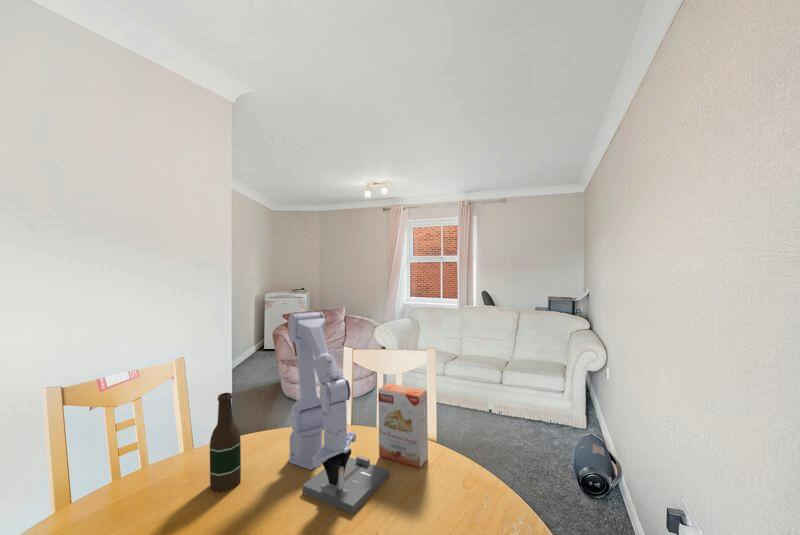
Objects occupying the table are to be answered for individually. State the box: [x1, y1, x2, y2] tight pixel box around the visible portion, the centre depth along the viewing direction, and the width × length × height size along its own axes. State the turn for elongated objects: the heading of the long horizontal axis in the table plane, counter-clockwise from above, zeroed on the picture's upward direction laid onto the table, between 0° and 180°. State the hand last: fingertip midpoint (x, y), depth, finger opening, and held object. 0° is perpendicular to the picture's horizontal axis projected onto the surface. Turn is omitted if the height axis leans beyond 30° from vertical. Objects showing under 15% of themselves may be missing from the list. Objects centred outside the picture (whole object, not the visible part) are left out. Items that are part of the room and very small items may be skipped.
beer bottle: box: [209, 392, 242, 493], centre depth 91 cm, size 8×8×24 cm
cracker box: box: [377, 383, 429, 469], centre depth 102 cm, size 14×6×21 cm, turn 61°
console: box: [302, 455, 390, 515], centre depth 90 cm, size 16×16×4 cm
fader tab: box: [328, 466, 344, 490], centre depth 86 cm, size 4×2×5 cm, turn 61°
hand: (336, 481), depth 86 cm, fingers closed on fader tab, 2 cm apart
